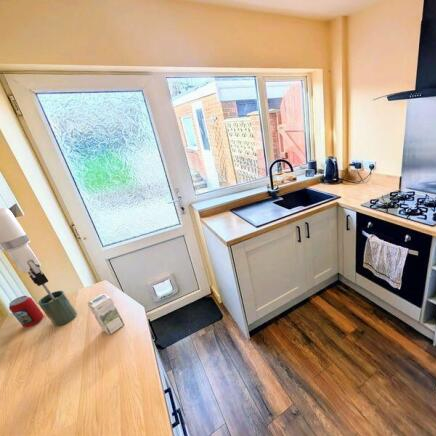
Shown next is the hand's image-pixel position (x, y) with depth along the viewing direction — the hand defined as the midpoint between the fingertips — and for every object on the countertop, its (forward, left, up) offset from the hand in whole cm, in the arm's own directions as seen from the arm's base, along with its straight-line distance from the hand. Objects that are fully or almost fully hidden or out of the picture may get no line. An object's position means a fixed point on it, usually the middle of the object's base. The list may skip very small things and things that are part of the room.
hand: (41, 282), depth 96 cm
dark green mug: (0, 0, -20) cm, 20 cm away
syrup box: (+7, -26, -20) cm, 33 cm away
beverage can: (-7, +12, -20) cm, 24 cm away
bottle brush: (0, 0, -15) cm, 15 cm away
